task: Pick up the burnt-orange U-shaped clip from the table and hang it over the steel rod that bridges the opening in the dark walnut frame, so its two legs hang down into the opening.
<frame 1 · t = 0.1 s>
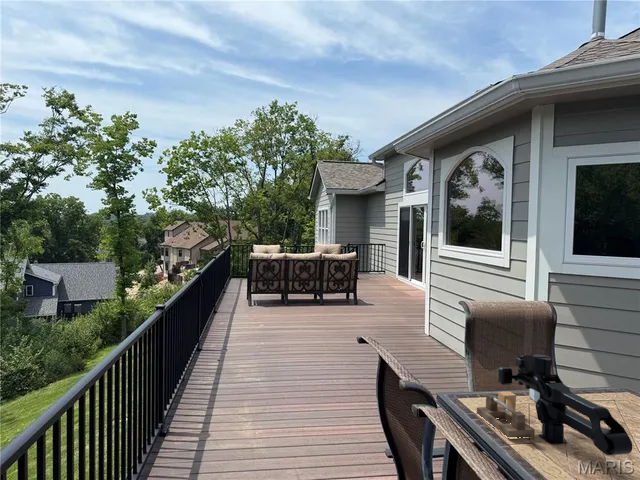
hand: (508, 368, 173), 17 cm above the table, tool horizontal, fingers open, 9 cm apart
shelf: (503, 425, 158), on the table
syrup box: (538, 400, 184), on the table
clip: (506, 412, 170), on the table
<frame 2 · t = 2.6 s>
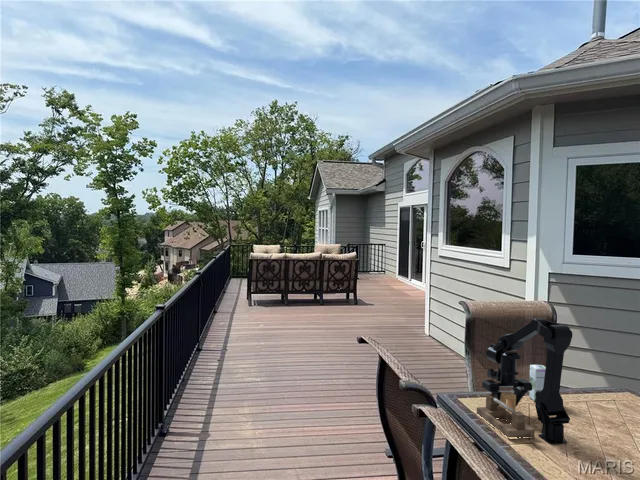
hand: (506, 406, 170), 2 cm above the table, tool pointing down, fingers open, 8 cm apart
nothing on the table moved.
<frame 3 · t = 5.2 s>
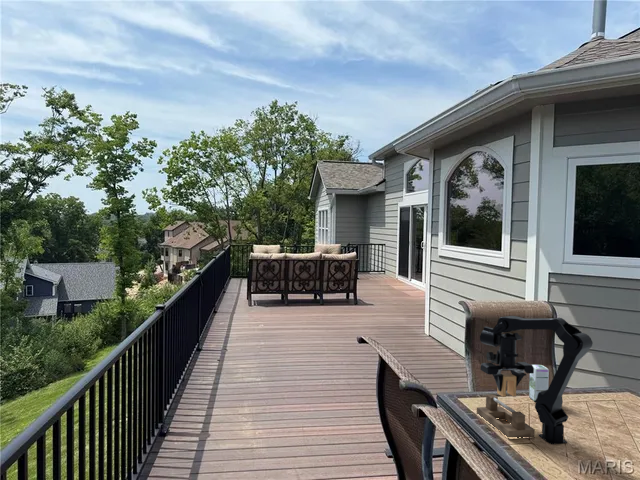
hand: (506, 390, 163), 11 cm above the table, tool pointing down, fingers closed on clip, 5 cm apart
clip: (506, 394, 163), point 10 cm above the table, touching gripper
everything else where it was.
when the fingers open (4 cm above the table, at t = 7.6 s): clip stays where it is, resting on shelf.
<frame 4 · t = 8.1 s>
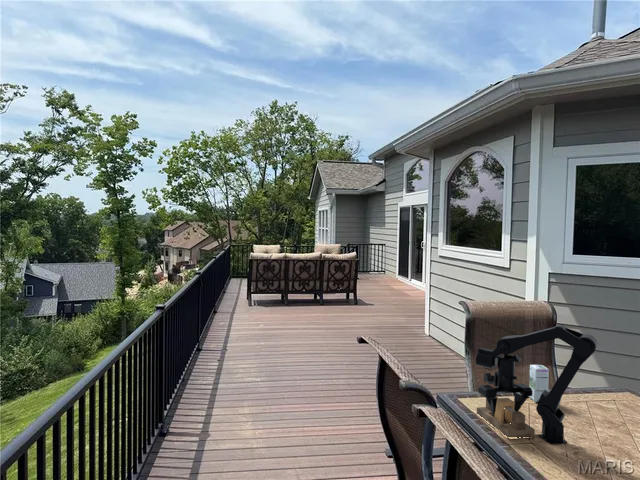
hand: (504, 413, 158), 4 cm above the table, tool pointing down, fingers open, 9 cm apart
clip: (504, 420, 158), point 2 cm above the table, touching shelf
everything else where it was.
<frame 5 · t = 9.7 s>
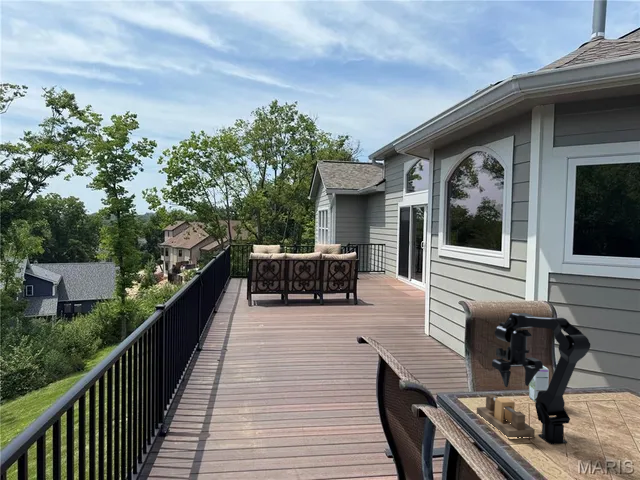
hand: (516, 386, 165), 12 cm above the table, tool pointing down, fingers open, 9 cm apart
nothing on the table moved.
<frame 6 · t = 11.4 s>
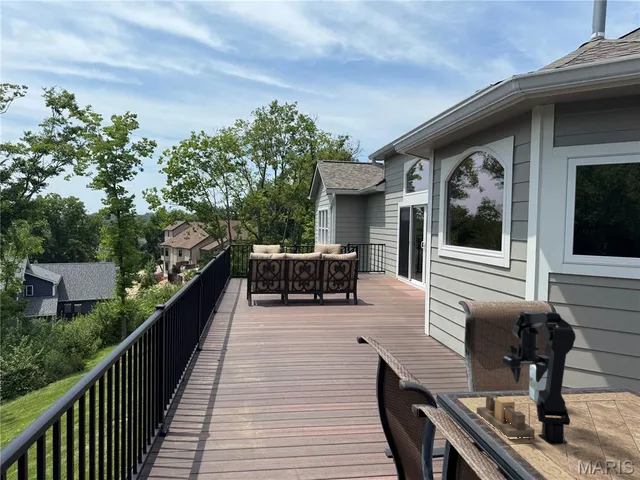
hand: (527, 382, 171), 12 cm above the table, tool pointing down, fingers open, 9 cm apart
nothing on the table moved.
at the end: clip inside the target area on the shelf (0.0 cm from its centre), point 2.0 cm above the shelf's base; clip touching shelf; the gripper is holding nothing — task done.
